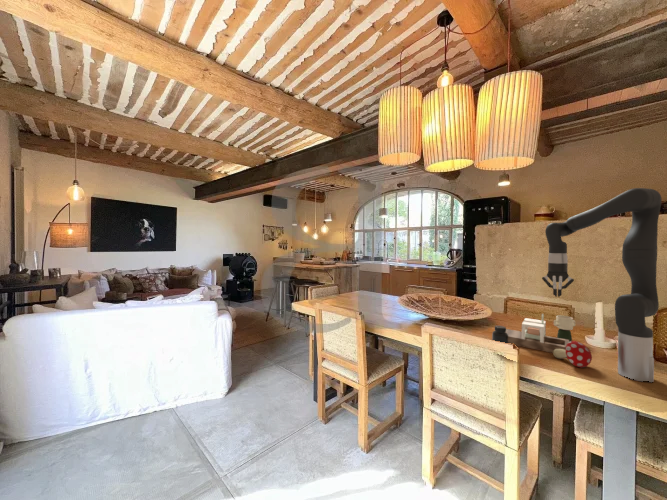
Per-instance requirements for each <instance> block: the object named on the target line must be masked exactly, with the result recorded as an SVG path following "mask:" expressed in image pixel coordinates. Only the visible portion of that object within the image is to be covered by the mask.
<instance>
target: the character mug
mask: <svg viewBox="0 0 667 500" xmlns="http://www.w3.org/2000/svg"><path fill="white" fill-rule="evenodd" d="M555 318H556V319H554V320H553V326H554V327H557V329H558V330H557V335H556V336H557V337H556V338H562V339H567V340H569V342H570V341H573V336H572V332H571V330H572V331H573V329H574V327H576V320H574V317H571V316H568V315H561V314H559V315H556V317H555Z"/></svg>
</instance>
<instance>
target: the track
mask: <svg viewBox="0 0 667 500" xmlns="http://www.w3.org/2000/svg"><path fill="white" fill-rule="evenodd" d="M506 333H507V334H508V343H514V344H516V345H515V346H518V347H523V348H527V349H532V350H538V351H543V352H546V353H552V354H553V350H555V349H564V350H565V348H566V345H567V344H568V343H569V342H570V341H569V340H567V339H562V338H557V337H554V336H549V335H546V336H544V343H541V342H540V340H537V339H532V338H526V337H525V339H522V330H514V329H508V328H506Z"/></svg>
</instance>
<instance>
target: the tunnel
mask: <svg viewBox="0 0 667 500" xmlns="http://www.w3.org/2000/svg"><path fill="white" fill-rule="evenodd" d="M546 324H547V322H546V320H544V324H542V319H541V320H540V319H535V318H534V319H533V318H527V317H525V318H524V320H523V321H522V323H521V332H522V339H525V330H527V328H528V327H534V328H540V342H541V343H544V336H547V335H546V334H547V333H546V330H547V329H546V326H547V325H546Z"/></svg>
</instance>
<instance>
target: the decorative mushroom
mask: <svg viewBox="0 0 667 500" xmlns="http://www.w3.org/2000/svg"><path fill="white" fill-rule="evenodd" d="M552 354H553V357H555V358H556V359H558V360H559V359H561V360H563V359H568V361H569V362H570V363H571V364H572V365H573V366H575V367H577V368H587V367H588V366H589V365H590V364H591V363H592V360H593V359H592V358H593V355H592V352H591V350H590V349H589V348H588V347H587V346H586V345H585V344H583V343H582V342H580V341H577V340H572V341H569V343H568V344H567V345H566V348H565V350H564V349H555V350H553V353H552Z"/></svg>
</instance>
